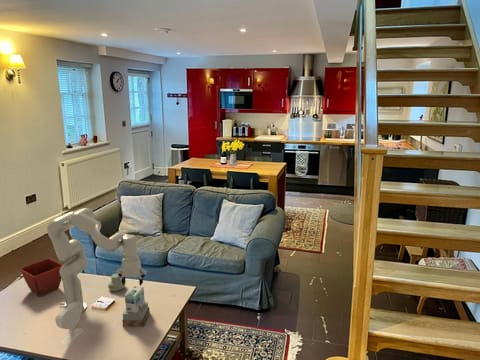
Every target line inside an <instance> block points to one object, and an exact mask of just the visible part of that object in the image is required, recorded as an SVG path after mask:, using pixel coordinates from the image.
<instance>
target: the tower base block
mask: <svg viewBox="0 0 480 360" xmlns="http://www.w3.org/2000/svg"><path fill="white" fill-rule="evenodd" d="M150 313H151V312H150V307H149V306H148V310H147V312H146V314H145V316H144V318H143V321H141V320H123V319H122V320H121V321H122V327H123V328H144V327H145V325H146V323H147V321H148V318H149V315H150Z"/></svg>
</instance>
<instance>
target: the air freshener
mask: <svg viewBox="0 0 480 360" xmlns="http://www.w3.org/2000/svg"><path fill="white" fill-rule="evenodd" d="M125 286H126V283H125V284H124V285H123V284H122V279H121V277H119V276H118V274H117V273H113V274H112V275H111V277H110V282H108V284H107V289H109V290H110V291H111V292H117V291H121V290H122V289H123V288H125Z"/></svg>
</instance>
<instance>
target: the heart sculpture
mask: <svg viewBox="0 0 480 360" xmlns="http://www.w3.org/2000/svg"><path fill="white" fill-rule="evenodd" d="M82 313H83V312H82V303H79V302H72V303H70V304H69V305H68V306H67V308H66V309H65V308H63V309H62V308H61V310H60V311H59V312H58V313H57V315H56V316H55V324H56V327H58V328H60V329H64V330H68V331H69V333H68V334H69V335H67V336H66V337H65V338H64V339H63V340H62V341H60V344H61V345H63V346H64V345H65V346H67V345H69V344H71V343H72V342H73V341H74V340H75V339H76V338H77V337H78V336H79V335H81V334H82V333H83V332H84V329H83V328H76V326H77V324H78V323H79V321H80V318H81V317H82ZM75 328H76V329H75Z"/></svg>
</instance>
